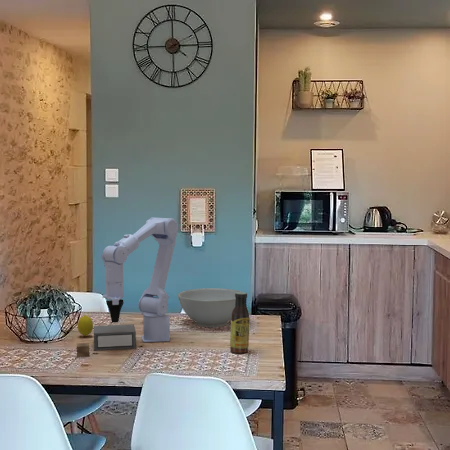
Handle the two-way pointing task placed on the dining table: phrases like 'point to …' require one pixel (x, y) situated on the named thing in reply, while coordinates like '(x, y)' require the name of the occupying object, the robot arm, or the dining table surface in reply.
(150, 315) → the robot arm
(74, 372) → the dining table surface
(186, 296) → the decorative bowl
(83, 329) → the lemon
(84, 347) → the walnut block
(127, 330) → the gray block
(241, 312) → the sauce bottle
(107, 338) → the tray
